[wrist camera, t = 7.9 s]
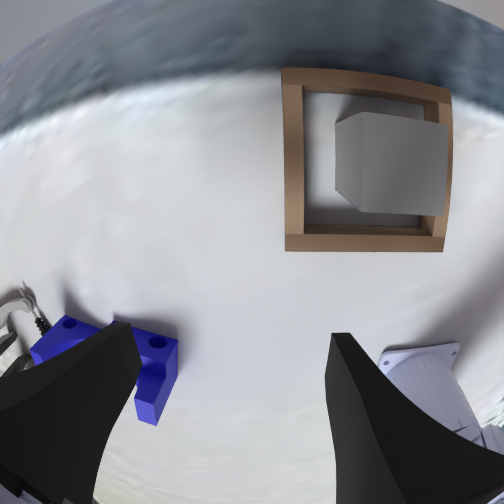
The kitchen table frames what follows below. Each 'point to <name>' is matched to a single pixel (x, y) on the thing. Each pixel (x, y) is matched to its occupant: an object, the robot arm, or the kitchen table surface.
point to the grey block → (392, 164)
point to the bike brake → (6, 340)
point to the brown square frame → (296, 231)
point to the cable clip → (151, 352)
